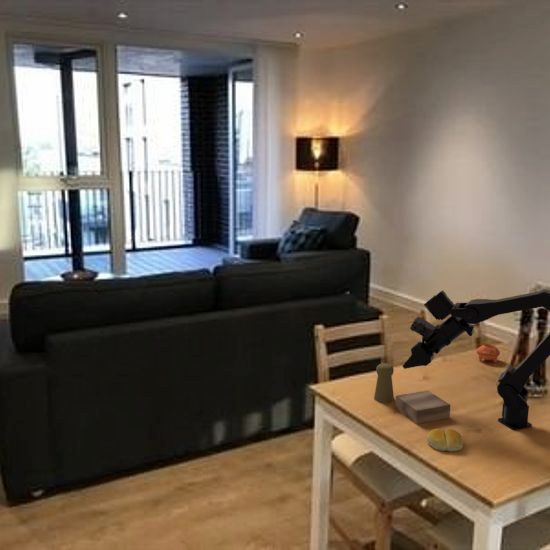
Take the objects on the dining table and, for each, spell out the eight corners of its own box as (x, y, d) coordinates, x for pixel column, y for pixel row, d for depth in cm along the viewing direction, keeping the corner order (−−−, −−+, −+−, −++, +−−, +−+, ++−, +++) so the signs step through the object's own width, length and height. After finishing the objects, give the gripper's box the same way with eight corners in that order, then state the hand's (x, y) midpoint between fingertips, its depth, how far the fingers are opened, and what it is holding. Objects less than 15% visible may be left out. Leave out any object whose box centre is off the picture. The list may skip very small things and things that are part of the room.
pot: (485, 365, 209) (483, 346, 209) (473, 363, 217) (471, 344, 217) (505, 362, 211) (503, 343, 211) (492, 360, 218) (490, 342, 219)
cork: (374, 394, 186) (375, 360, 184) (394, 395, 185) (395, 361, 182) (373, 401, 180) (374, 367, 178) (393, 403, 179) (395, 368, 177)
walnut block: (449, 417, 169) (450, 404, 168) (416, 424, 165) (417, 410, 164) (427, 402, 179) (427, 390, 178) (395, 408, 175) (395, 395, 174)
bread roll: (427, 436, 159) (427, 422, 158) (462, 440, 156) (462, 425, 156) (426, 450, 151) (426, 436, 150) (462, 455, 149) (463, 440, 148)
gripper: (436, 302, 179) (398, 333, 186) (420, 318, 163) (380, 350, 170) (461, 331, 177) (422, 360, 184) (447, 349, 161) (406, 381, 168)
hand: (407, 362), depth 177 cm, fingers open, 9 cm apart
